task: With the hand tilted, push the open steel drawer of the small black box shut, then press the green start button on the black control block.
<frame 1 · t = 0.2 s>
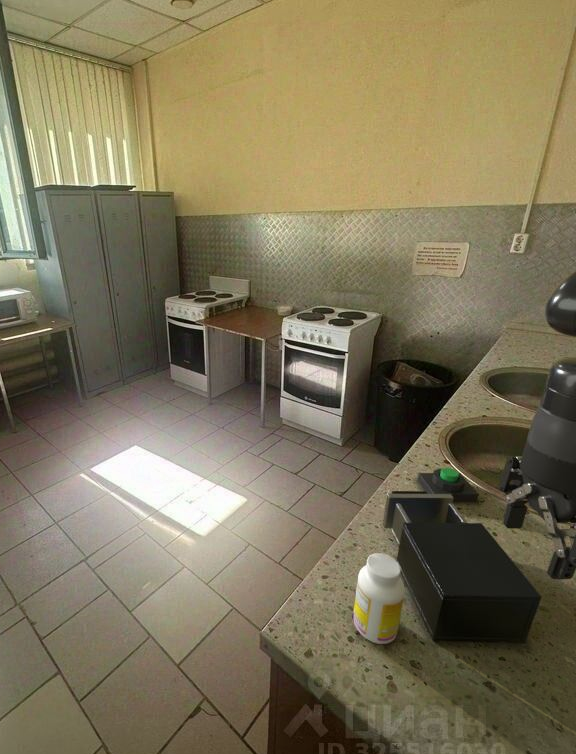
hand: (532, 549, 53), 19 cm above the counter, tool pointing down, fingers open, 8 cm apart
black box: (453, 599, 67), on the counter
rack drawer: (426, 526, 77), point 5 cm above the counter, slide at 8.0 cm
start button: (449, 475, 92), point 4 cm above the counter, slide at 0.1 cm
supplement bottle: (374, 626, 64), on the counter
control block: (445, 490, 94), on the counter
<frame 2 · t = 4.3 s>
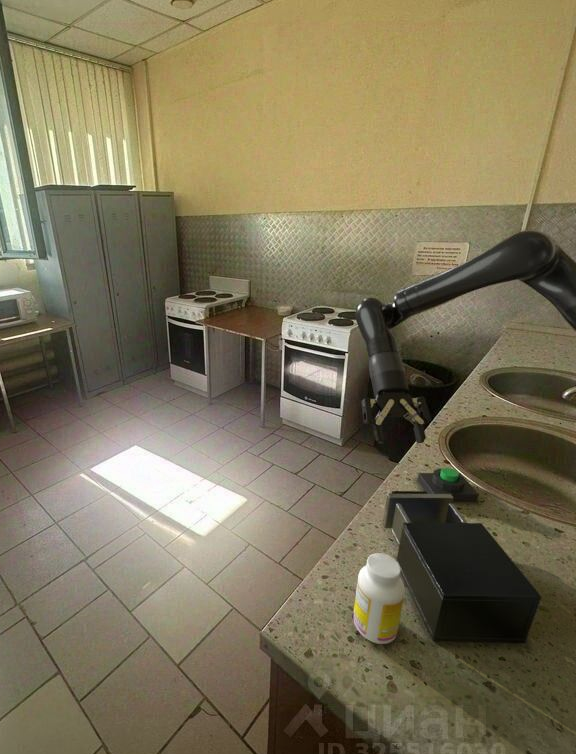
hand: (401, 443, 87), 15 cm above the counter, tool tilted 45°, fingers open, 8 cm apart
nothing on the counter moved.
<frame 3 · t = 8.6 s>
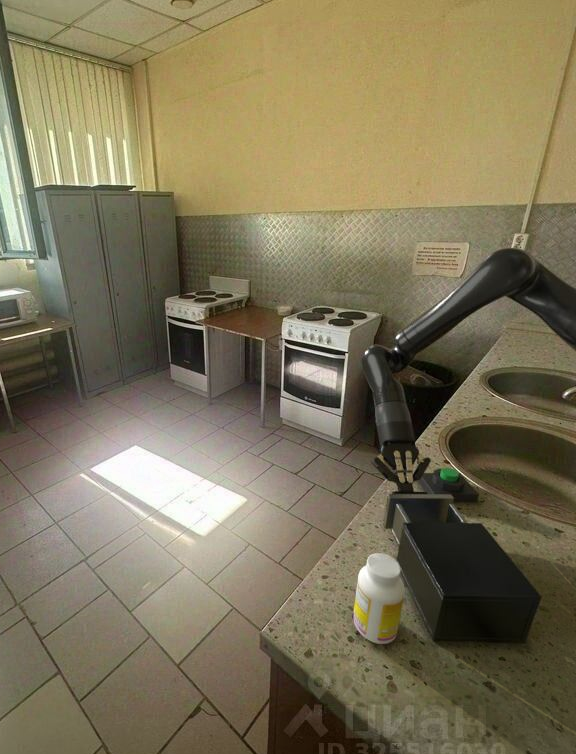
hand: (407, 501, 85), 4 cm above the counter, tool tilted 45°, fingers closed
rack drawer: (426, 526, 77), point 5 cm above the counter, slide at 7.9 cm, touching gripper
everything else where it was.
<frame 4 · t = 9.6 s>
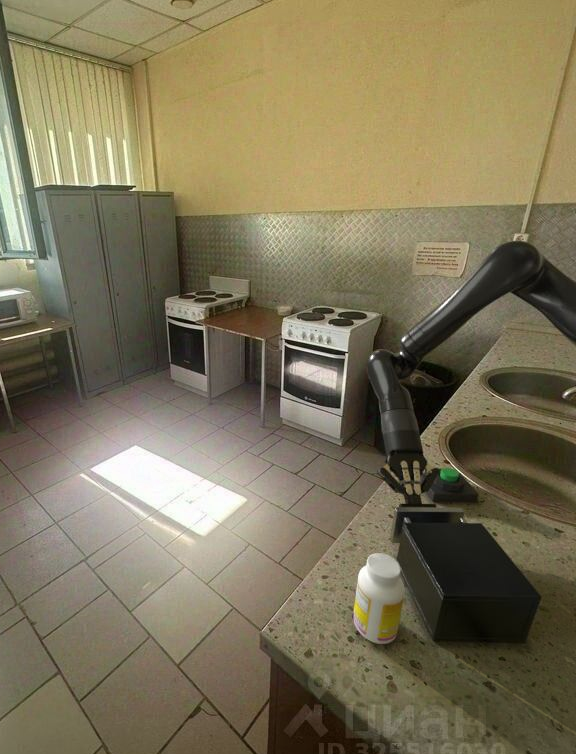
hand: (415, 514, 82), 4 cm above the counter, tool tilted 45°, fingers closed
rack drawer: (436, 541, 73), point 5 cm above the counter, slide at 4.0 cm, touching gripper
everything else where it was.
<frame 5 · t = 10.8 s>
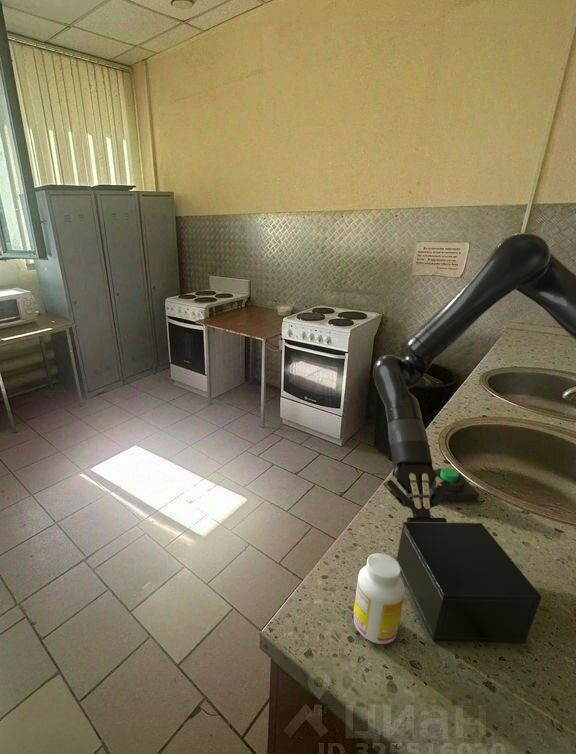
hand: (424, 529, 78), 4 cm above the counter, tool tilted 45°, fingers closed
rack drawer: (447, 559, 69), point 5 cm above the counter, slide at 0.0 cm, touching black box, gripper
everything else where it was.
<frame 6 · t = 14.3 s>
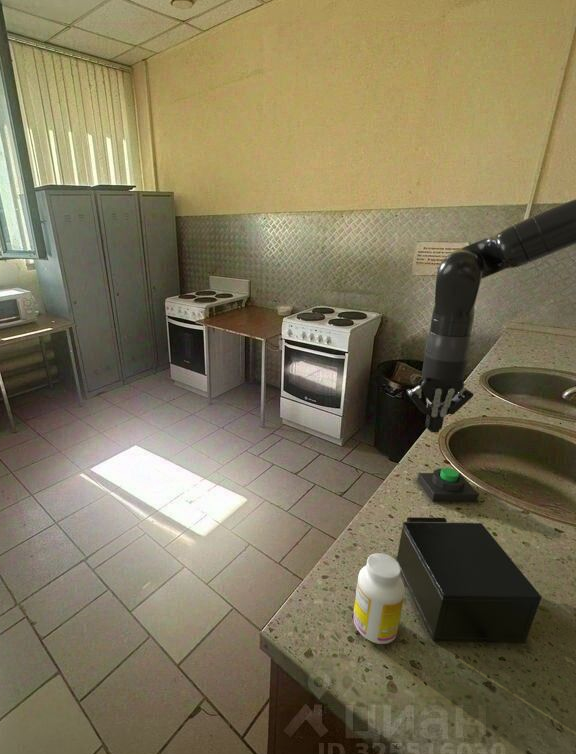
hand: (432, 430, 84), 18 cm above the counter, tool pointing down, fingers closed
rack drawer: (447, 559, 69), point 5 cm above the counter, slide at 0.0 cm, touching black box
everything else where it was.
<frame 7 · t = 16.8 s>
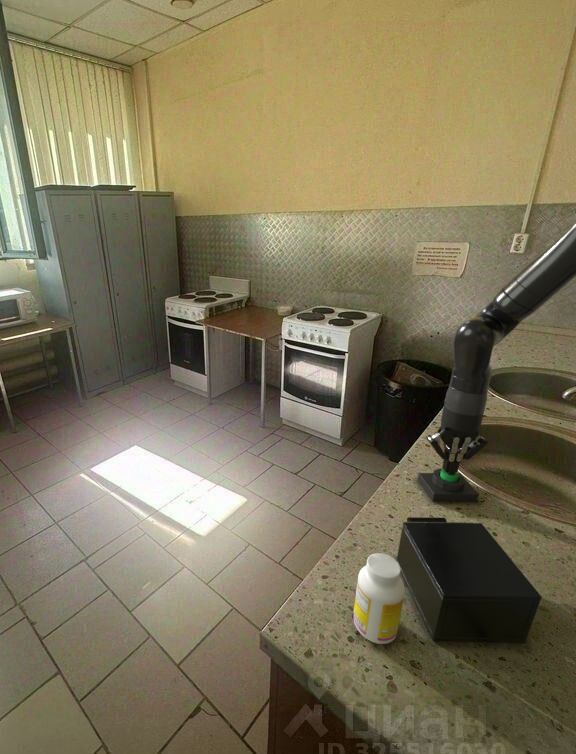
hand: (449, 472, 92), 5 cm above the counter, tool pointing down, fingers closed
start button: (449, 475, 92), point 4 cm above the counter, slide at -0.1 cm, touching gripper
everything else where it was.
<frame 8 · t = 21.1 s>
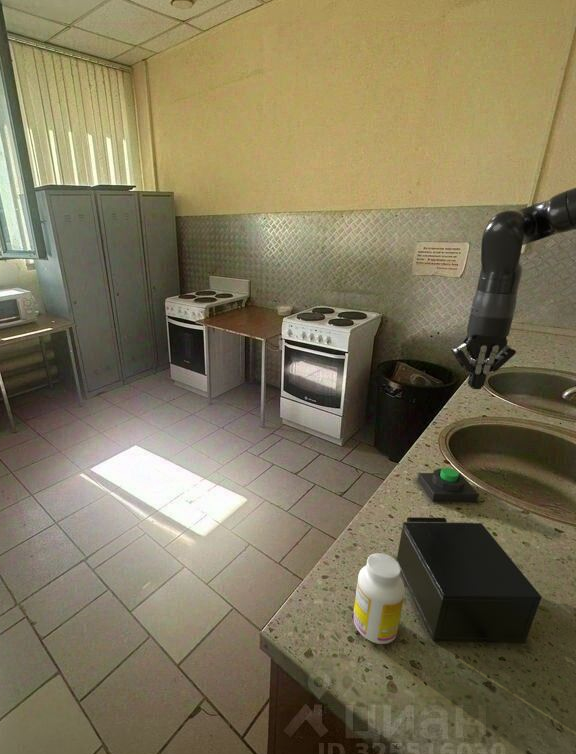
hand: (474, 387, 89), 25 cm above the counter, tool pointing down, fingers closed
start button: (449, 475, 92), point 4 cm above the counter, slide at 0.1 cm
everything else where it was.
at the end: rack drawer slide at 0.0 cm; start button pushed in 1.1 cm at the most during the clip, back to where it started at the end; start button slide at 0.1 cm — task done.
